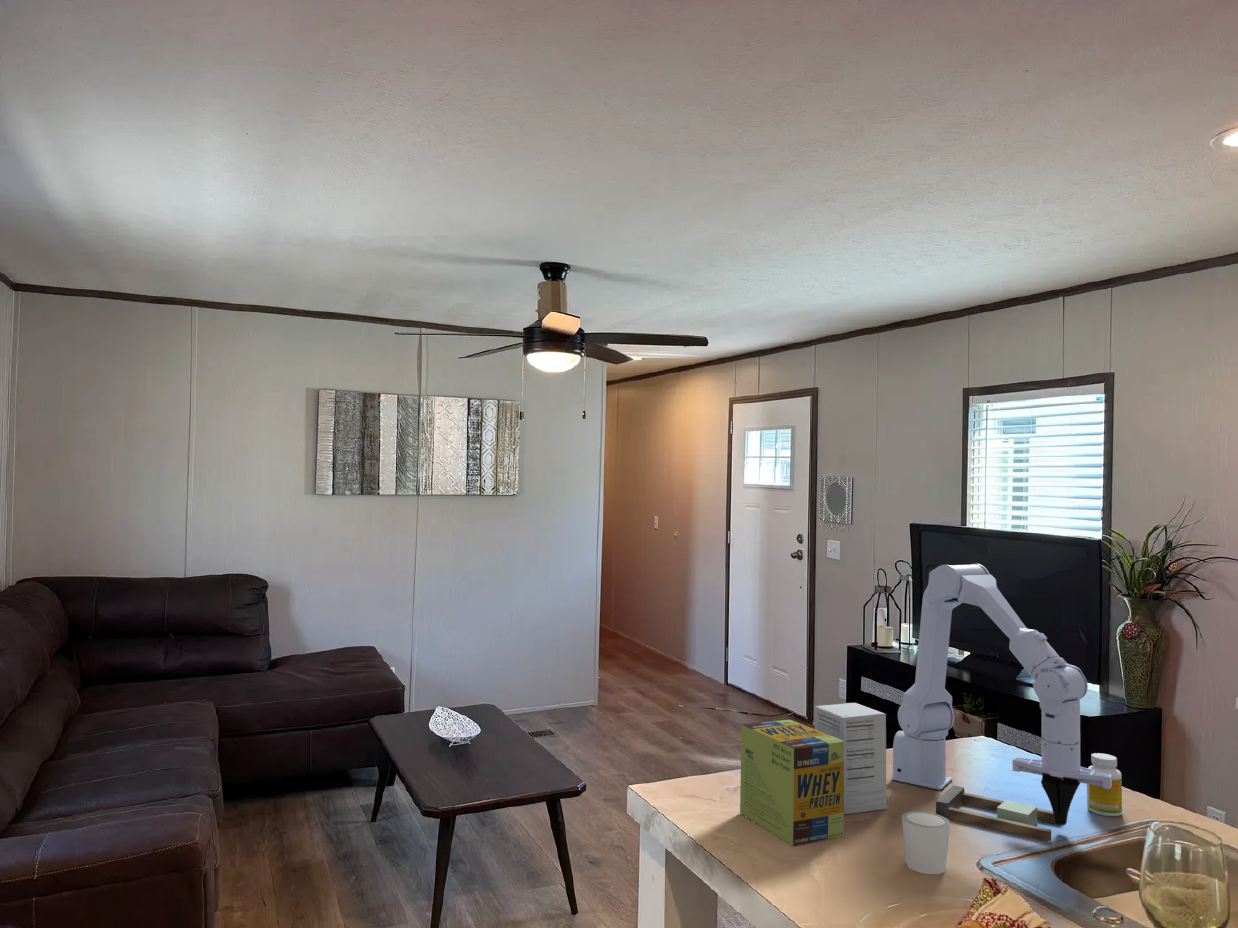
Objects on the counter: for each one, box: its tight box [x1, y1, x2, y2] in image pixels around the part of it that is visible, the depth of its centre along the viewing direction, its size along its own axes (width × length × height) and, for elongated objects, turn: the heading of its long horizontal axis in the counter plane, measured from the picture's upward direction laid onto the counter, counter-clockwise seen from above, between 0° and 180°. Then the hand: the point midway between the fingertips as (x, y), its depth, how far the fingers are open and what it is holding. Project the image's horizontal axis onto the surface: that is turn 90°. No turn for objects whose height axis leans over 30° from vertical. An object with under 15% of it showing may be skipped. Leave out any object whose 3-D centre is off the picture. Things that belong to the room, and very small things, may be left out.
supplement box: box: [814, 702, 887, 815], centre depth 154 cm, size 10×9×17 cm
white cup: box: [901, 810, 951, 875], centre depth 128 cm, size 7×7×7 cm
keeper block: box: [996, 799, 1038, 826], centre depth 145 cm, size 5×5×3 cm
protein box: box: [739, 719, 845, 847], centre depth 143 cm, size 10×15×16 cm
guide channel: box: [935, 784, 1057, 842], centre depth 147 cm, size 18×10×2 cm, turn 53°
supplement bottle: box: [1086, 752, 1123, 817], centre depth 151 cm, size 5×5×10 cm
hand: (1061, 822), depth 141 cm, fingers closed
